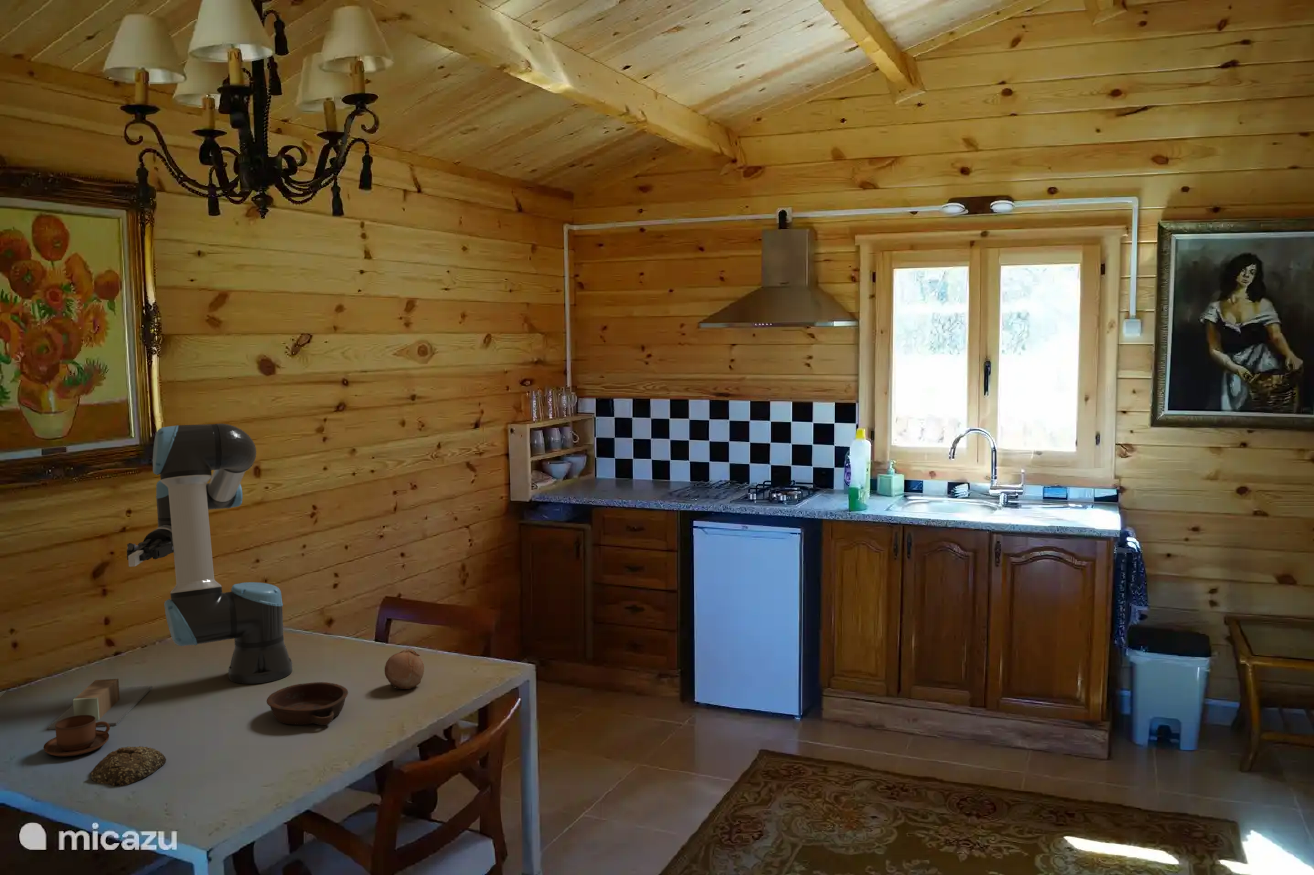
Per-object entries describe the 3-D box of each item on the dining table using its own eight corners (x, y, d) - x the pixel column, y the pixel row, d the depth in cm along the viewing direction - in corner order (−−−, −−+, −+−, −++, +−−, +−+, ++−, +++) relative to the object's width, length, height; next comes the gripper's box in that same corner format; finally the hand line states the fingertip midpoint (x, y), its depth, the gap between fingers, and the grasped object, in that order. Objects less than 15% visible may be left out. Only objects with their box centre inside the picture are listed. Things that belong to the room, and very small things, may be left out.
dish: (285, 740, 219) (284, 718, 218) (254, 710, 236) (253, 689, 235) (364, 721, 229) (363, 699, 229) (328, 693, 246) (327, 673, 246)
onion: (411, 693, 254) (421, 653, 257) (424, 694, 246) (434, 652, 250) (375, 685, 250) (385, 645, 253) (386, 686, 242) (397, 644, 245)
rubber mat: (152, 688, 250) (151, 685, 250) (116, 725, 227) (116, 722, 227) (90, 691, 248) (90, 689, 248) (48, 729, 225) (48, 726, 225)
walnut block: (118, 678, 241) (97, 698, 228) (119, 699, 241) (98, 719, 228) (95, 679, 240) (73, 699, 227) (97, 700, 240) (74, 721, 228)
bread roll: (175, 763, 208) (174, 739, 207) (128, 789, 196) (127, 765, 195) (124, 756, 211) (122, 733, 210) (75, 782, 199) (73, 757, 199)
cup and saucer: (99, 733, 223) (97, 706, 222) (117, 749, 214) (115, 721, 214) (37, 749, 214) (35, 721, 214) (53, 766, 206) (51, 737, 205)
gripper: (188, 554, 279) (160, 574, 256) (137, 556, 277) (104, 577, 254) (186, 527, 278) (158, 545, 255) (135, 529, 276) (102, 547, 253)
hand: (131, 561), depth 255 cm, fingers closed
